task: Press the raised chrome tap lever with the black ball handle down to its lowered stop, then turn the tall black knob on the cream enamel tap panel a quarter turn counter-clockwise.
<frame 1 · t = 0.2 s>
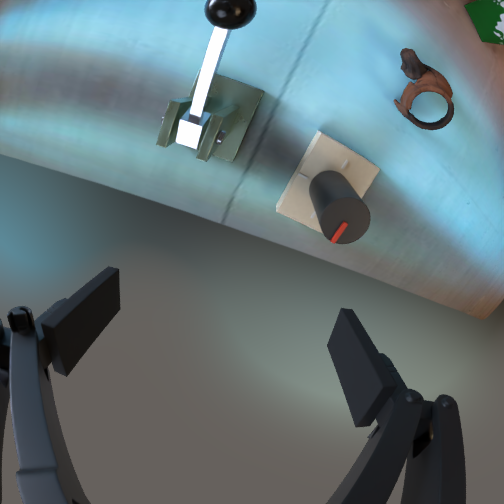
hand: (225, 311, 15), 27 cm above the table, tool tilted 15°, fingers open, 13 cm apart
tap bracket: (217, 114, 33), on the table
tap knob: (336, 204, 32), point 7 cm above the table, hinge at 0.0°
milk carton: (482, 22, 17), on the table
broken clay pot: (412, 85, 28), on the table
tap lever: (208, 70, 17), point 16 cm above the table, hinge at 25.0°
tap panel: (325, 183, 38), on the table
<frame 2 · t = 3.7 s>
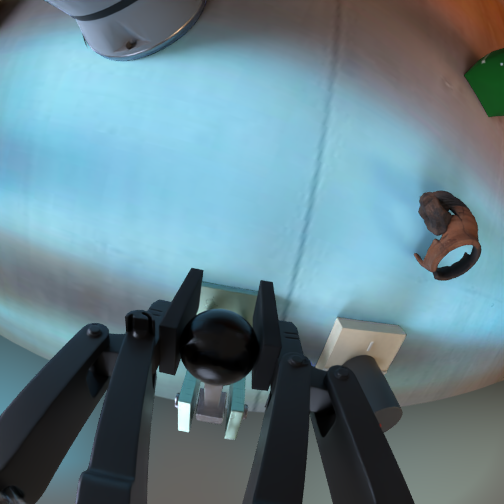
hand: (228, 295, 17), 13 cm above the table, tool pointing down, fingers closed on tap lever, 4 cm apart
tap bracket: (224, 326, 32), on the table
tap knob: (367, 396, 27), point 7 cm above the table, hinge at 0.0°
milk carton: (483, 86, 22), on the table
broken clay pot: (430, 223, 28), on the table
tap lever: (213, 385, 16), point 16 cm above the table, hinge at 25.0°, touching gripper
tap panel: (351, 359, 34), on the table
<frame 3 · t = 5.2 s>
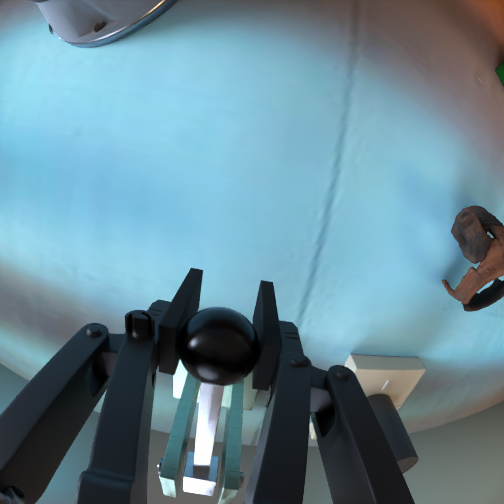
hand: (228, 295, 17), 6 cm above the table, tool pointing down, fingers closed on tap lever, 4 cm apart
tap bracket: (218, 365, 26), on the table
tap knob: (380, 440, 21), point 7 cm above the table, hinge at 0.0°
broken clay pot: (461, 243, 22), on the table
tap lever: (206, 427, 13), point 12 cm above the table, hinge at -6.1°, touching gripper
tap panel: (363, 395, 28), on the table
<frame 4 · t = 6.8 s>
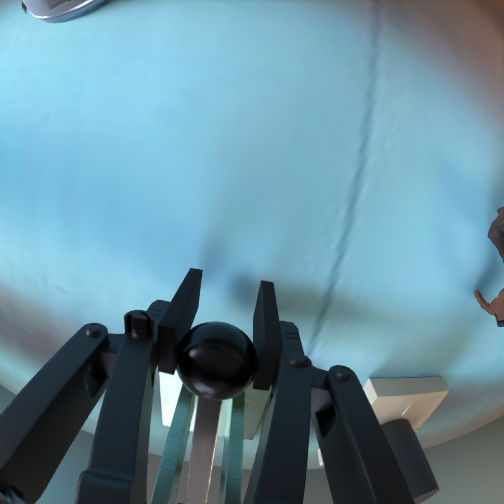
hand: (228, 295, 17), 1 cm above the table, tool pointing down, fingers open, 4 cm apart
tap bracket: (213, 393, 21), on the table
tap knob: (398, 469, 16), point 7 cm above the table, hinge at 0.0°
broken clay pot: (494, 249, 17), on the table
tap lever: (201, 463, 10), point 10 cm above the table, hinge at -29.2°
tap panel: (378, 418, 23), on the table
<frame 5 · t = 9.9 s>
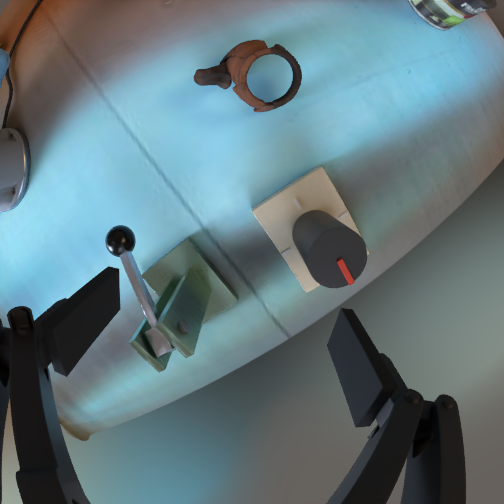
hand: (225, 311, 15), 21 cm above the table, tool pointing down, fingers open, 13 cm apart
tap bracket: (189, 285, 38), on the table
tap knob: (325, 244, 28), point 7 cm above the table, hinge at 0.0°
coffee can: (429, 7, 22), on the table
broken clay pot: (247, 80, 29), on the table
tap lever: (138, 285, 27), point 10 cm above the table, hinge at -29.2°
tap panel: (311, 228, 35), on the table
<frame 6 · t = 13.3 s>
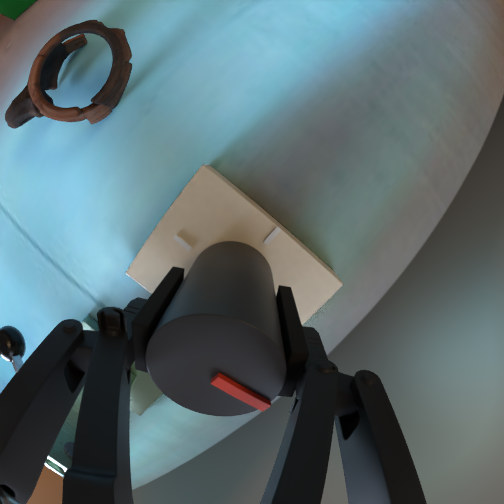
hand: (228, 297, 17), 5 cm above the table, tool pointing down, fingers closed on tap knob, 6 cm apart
tap bracket: (116, 368, 25), on the table
tap knob: (224, 316, 14), point 7 cm above the table, hinge at 0.0°, touching gripper
broken clay pot: (84, 86, 17), on the table
tap lever: (32, 396, 15), point 10 cm above the table, hinge at -29.2°
tap panel: (233, 267, 21), on the table
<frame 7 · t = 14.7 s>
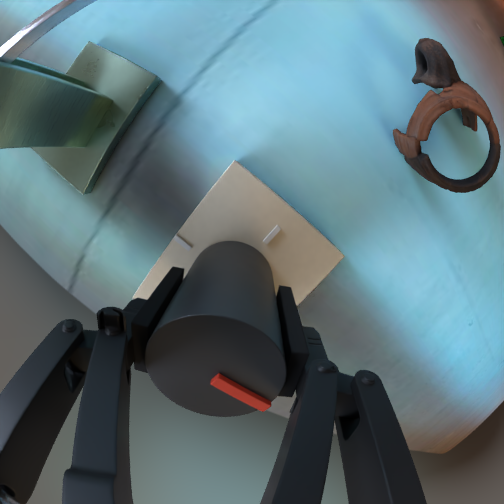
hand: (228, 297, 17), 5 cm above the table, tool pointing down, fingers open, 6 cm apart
tap bracket: (88, 113, 17), on the table
tap knob: (224, 317, 14), point 7 cm above the table, hinge at 90.0°
broken clay pot: (425, 117, 17), on the table
tap lever: (55, 15, 7), point 10 cm above the table, hinge at -29.2°
tap panel: (233, 267, 21), on the table
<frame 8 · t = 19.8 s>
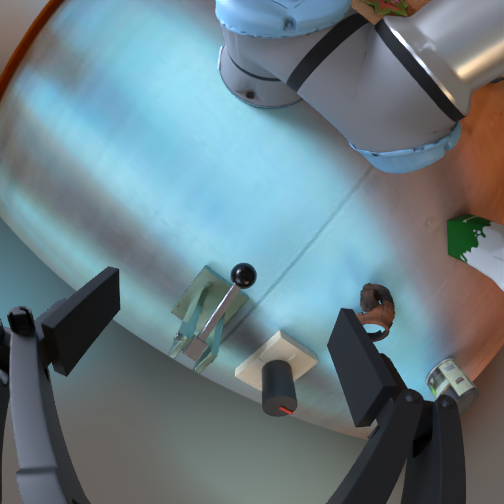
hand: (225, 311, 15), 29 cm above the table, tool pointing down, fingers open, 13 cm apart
tap bracket: (208, 302, 47), on the table
tap knob: (278, 388, 44), point 7 cm above the table, hinge at 90.0°
coffee can: (440, 372, 54), on the table
milk carton: (458, 233, 43), on the table
broken clay pot: (365, 301, 47), on the table
tap lever: (220, 310, 36), point 10 cm above the table, hinge at -29.2°
tap panel: (275, 362, 51), on the table
lily flower: (383, 3, 29), on the table
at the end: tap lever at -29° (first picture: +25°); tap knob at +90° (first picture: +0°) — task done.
